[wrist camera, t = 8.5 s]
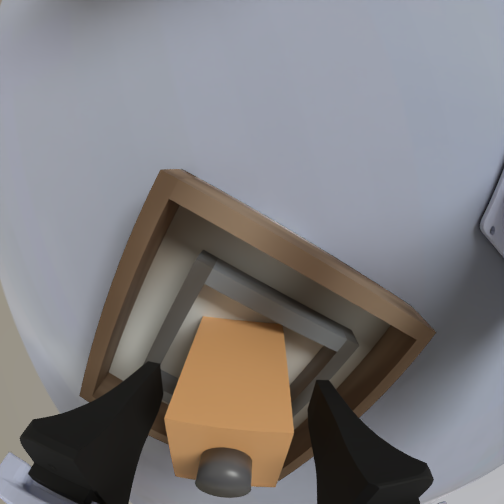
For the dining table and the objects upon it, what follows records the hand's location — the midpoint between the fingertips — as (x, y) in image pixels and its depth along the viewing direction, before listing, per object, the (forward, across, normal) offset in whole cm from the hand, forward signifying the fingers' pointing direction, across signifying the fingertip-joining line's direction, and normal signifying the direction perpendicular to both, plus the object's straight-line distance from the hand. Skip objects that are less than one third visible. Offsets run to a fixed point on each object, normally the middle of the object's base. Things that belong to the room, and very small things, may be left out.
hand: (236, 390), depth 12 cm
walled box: (+3, 0, 0) cm, 3 cm away
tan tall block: (+3, 0, 0) cm, 3 cm away
